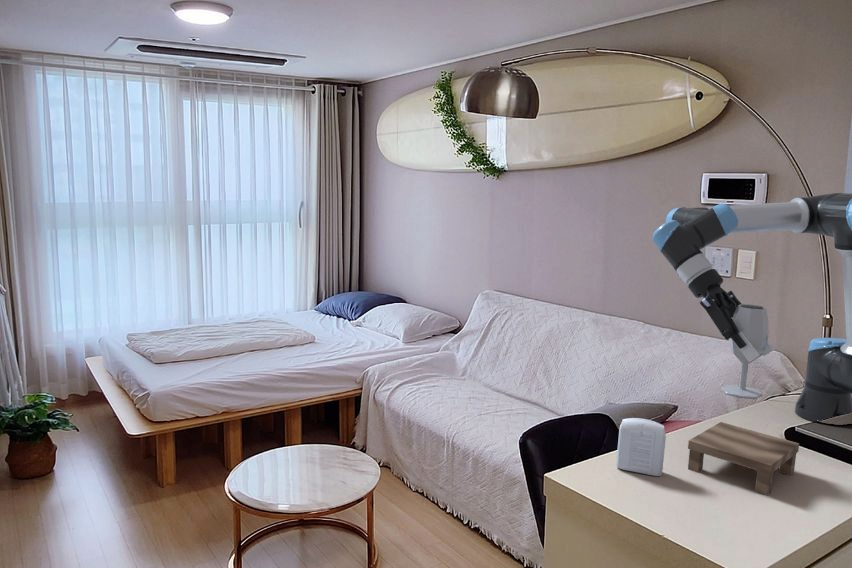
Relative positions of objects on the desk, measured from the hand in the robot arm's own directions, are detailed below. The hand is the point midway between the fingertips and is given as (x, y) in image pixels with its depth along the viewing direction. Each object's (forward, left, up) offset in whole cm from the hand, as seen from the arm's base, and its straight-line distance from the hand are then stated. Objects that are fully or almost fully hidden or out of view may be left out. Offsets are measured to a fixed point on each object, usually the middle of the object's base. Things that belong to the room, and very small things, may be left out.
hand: (761, 355), depth 153 cm
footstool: (+3, -1, -27) cm, 27 cm away
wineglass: (0, -4, -10) cm, 11 cm away
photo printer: (+21, -17, -27) cm, 39 cm away
